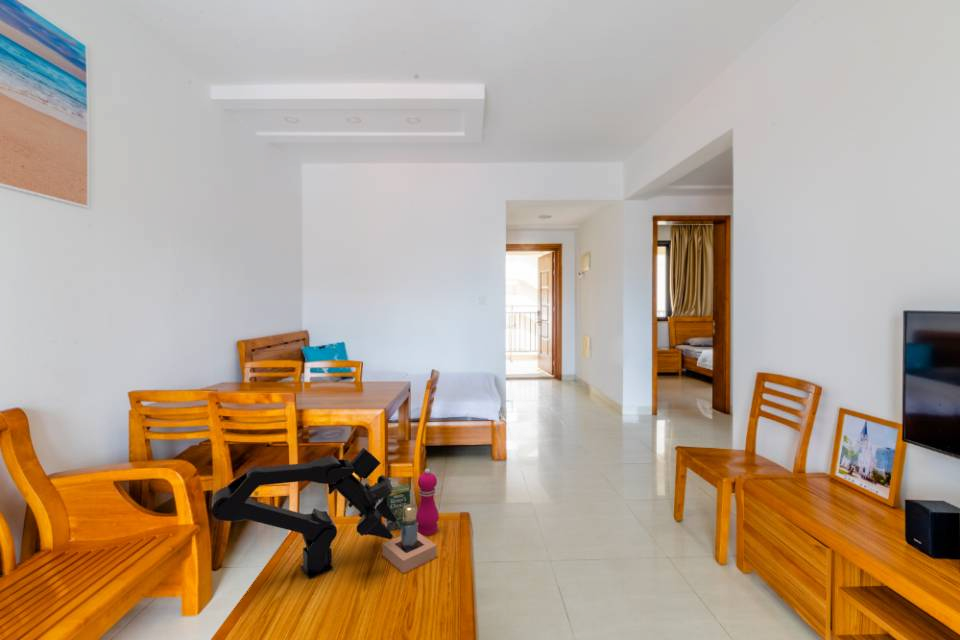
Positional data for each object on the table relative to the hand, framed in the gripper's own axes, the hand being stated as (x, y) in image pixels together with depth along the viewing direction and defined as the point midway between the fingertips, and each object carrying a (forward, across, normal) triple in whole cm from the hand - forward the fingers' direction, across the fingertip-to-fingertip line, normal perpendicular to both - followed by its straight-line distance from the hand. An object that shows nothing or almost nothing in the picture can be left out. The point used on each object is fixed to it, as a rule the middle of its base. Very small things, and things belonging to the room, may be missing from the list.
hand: (393, 529), depth 124 cm
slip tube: (+9, 0, +2) cm, 9 cm away
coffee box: (+6, +17, +6) cm, 19 cm away
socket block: (+9, 0, +3) cm, 9 cm away
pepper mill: (+12, +14, 0) cm, 19 cm away
